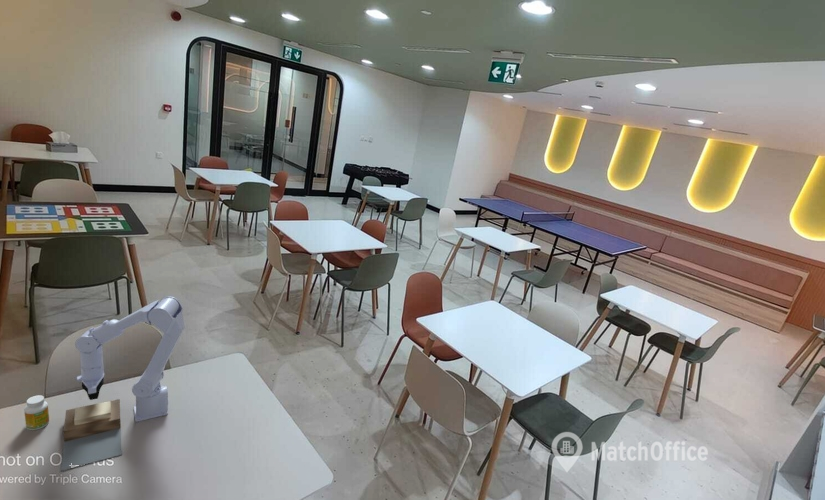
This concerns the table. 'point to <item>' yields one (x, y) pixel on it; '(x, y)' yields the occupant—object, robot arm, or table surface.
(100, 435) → the slate mat
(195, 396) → the table surface
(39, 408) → the supplement bottle
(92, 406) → the birch tile
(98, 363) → the robot arm
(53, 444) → the table surface
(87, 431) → the walnut deck
